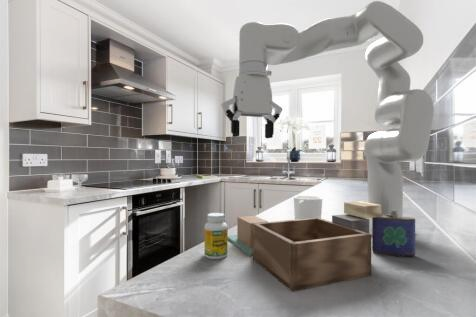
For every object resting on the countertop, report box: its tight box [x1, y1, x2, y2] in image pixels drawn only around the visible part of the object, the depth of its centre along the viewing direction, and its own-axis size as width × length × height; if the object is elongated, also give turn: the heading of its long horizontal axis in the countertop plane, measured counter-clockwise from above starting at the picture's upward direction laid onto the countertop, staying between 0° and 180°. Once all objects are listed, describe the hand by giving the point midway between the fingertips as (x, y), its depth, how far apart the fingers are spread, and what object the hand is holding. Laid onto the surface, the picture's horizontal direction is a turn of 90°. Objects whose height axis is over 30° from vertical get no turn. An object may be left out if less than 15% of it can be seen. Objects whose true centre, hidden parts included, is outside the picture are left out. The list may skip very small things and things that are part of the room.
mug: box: [293, 195, 323, 220], centre depth 86 cm, size 11×9×10 cm
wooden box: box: [251, 213, 372, 292], centre depth 57 cm, size 23×16×10 cm
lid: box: [228, 215, 269, 257], centre depth 73 cm, size 17×15×7 cm
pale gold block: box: [343, 200, 381, 219], centre depth 62 cm, size 5×6×3 cm
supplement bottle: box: [204, 212, 229, 260], centre depth 63 cm, size 5×5×10 cm
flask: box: [371, 210, 416, 258], centre depth 64 cm, size 9×3×11 cm, turn 74°
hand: (252, 137), depth 72 cm, fingers open, 9 cm apart
